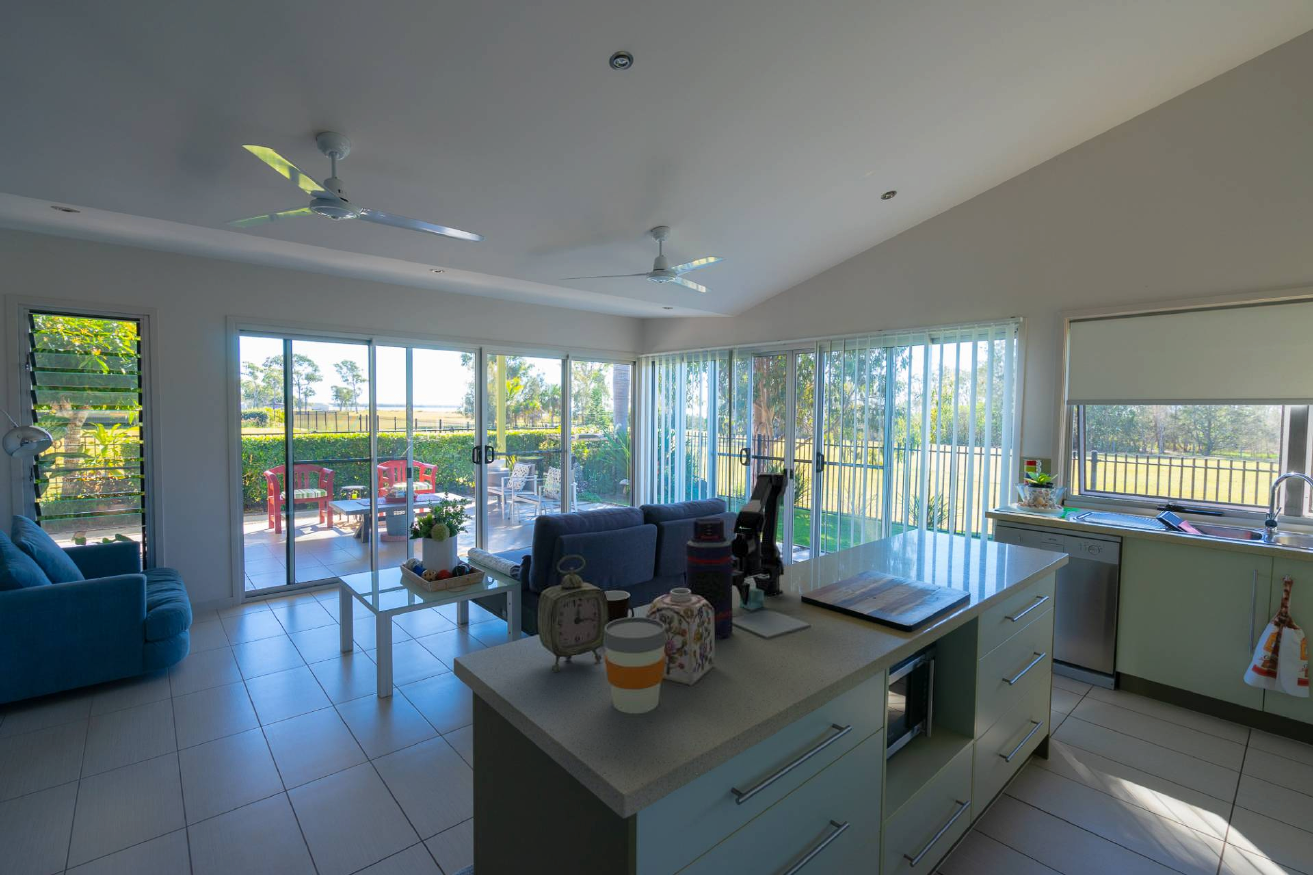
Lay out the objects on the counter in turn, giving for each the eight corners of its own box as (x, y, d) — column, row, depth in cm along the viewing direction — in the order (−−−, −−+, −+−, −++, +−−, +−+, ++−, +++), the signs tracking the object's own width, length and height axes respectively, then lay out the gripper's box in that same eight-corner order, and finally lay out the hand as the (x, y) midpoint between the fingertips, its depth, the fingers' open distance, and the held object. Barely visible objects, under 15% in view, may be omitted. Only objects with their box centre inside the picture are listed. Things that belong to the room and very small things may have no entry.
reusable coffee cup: (594, 696, 118) (593, 623, 118) (649, 683, 124) (648, 613, 124) (619, 724, 107) (618, 643, 107) (679, 708, 113) (678, 631, 112)
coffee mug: (594, 629, 157) (594, 592, 157) (625, 625, 160) (625, 589, 160) (604, 644, 146) (603, 605, 146) (637, 640, 149) (636, 601, 149)
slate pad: (768, 611, 171) (768, 609, 171) (810, 626, 157) (810, 624, 157) (726, 621, 162) (726, 619, 162) (766, 639, 149) (766, 636, 149)
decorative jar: (716, 666, 132) (715, 587, 132) (693, 687, 122) (692, 601, 122) (670, 656, 138) (669, 581, 138) (644, 675, 128) (643, 593, 128)
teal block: (752, 603, 179) (752, 586, 178) (763, 607, 174) (763, 590, 174) (739, 606, 176) (739, 589, 176) (751, 610, 172) (751, 593, 172)
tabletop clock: (550, 677, 128) (549, 563, 127) (535, 663, 135) (533, 555, 135) (609, 661, 136) (607, 554, 135) (591, 649, 143) (589, 547, 143)
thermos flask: (735, 642, 147) (734, 523, 146) (687, 642, 147) (686, 523, 146) (729, 623, 160) (728, 514, 160) (686, 624, 161) (684, 515, 160)
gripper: (755, 543, 187) (756, 591, 187) (709, 550, 176) (710, 602, 177) (781, 549, 177) (781, 600, 178) (734, 557, 167) (734, 611, 167)
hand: (751, 603), depth 175 cm, fingers closed on teal block, 5 cm apart
